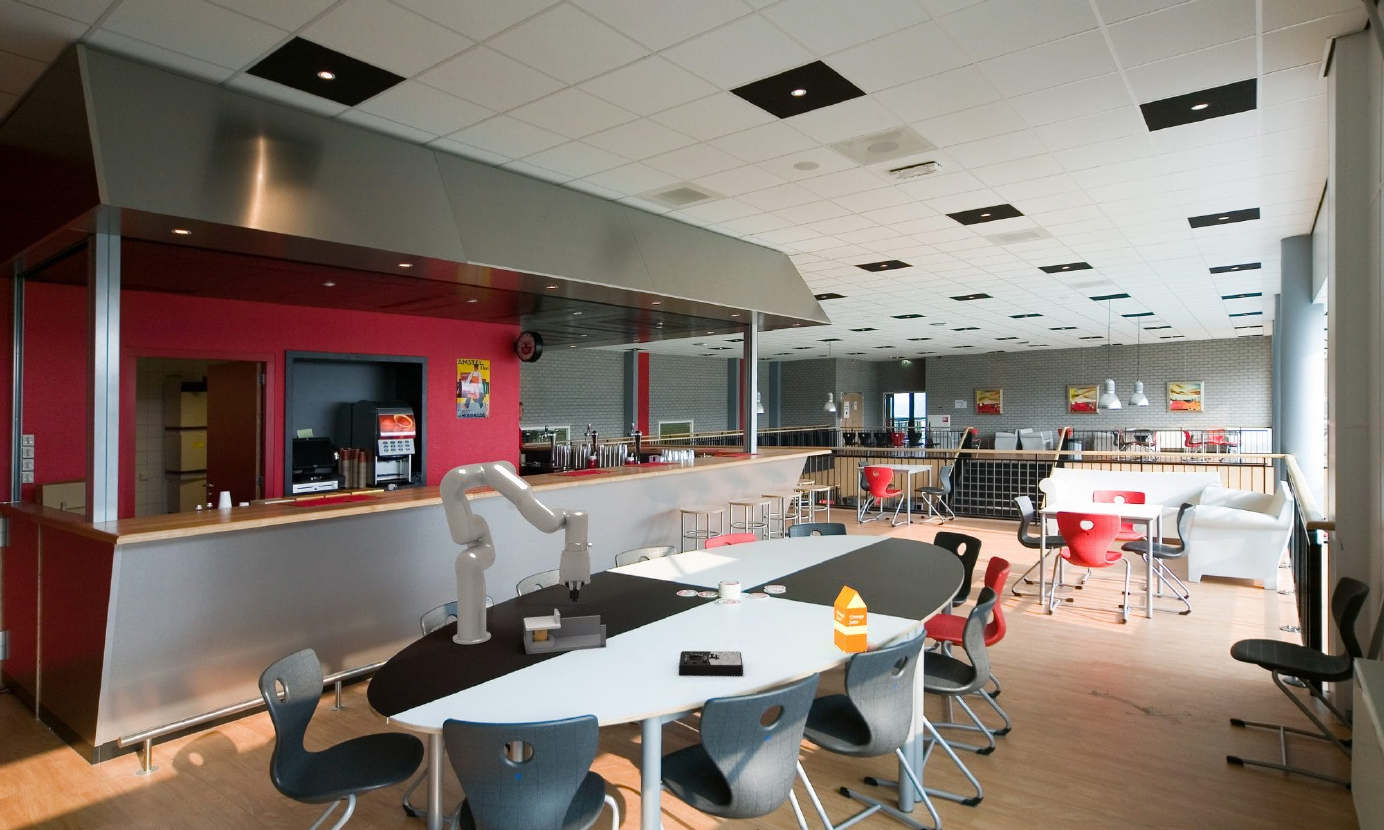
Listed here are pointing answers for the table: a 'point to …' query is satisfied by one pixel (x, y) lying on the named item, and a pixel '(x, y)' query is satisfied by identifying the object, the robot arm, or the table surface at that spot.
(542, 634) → the peg
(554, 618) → the lid
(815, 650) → the table surface
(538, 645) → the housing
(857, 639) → the orange juice
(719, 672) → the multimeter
